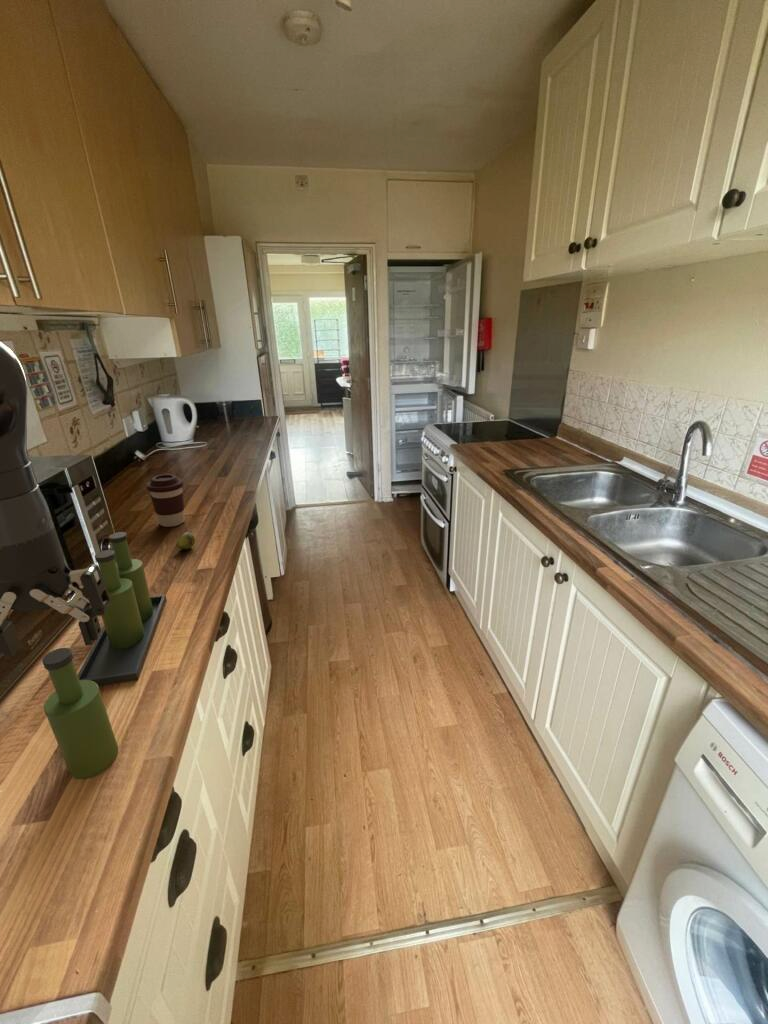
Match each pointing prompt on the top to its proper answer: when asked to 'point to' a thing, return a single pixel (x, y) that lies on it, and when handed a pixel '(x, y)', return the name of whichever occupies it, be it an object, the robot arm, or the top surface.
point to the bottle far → (132, 573)
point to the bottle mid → (119, 605)
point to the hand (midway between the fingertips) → (53, 646)
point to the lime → (186, 541)
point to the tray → (121, 653)
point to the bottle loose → (78, 718)
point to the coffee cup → (167, 499)
